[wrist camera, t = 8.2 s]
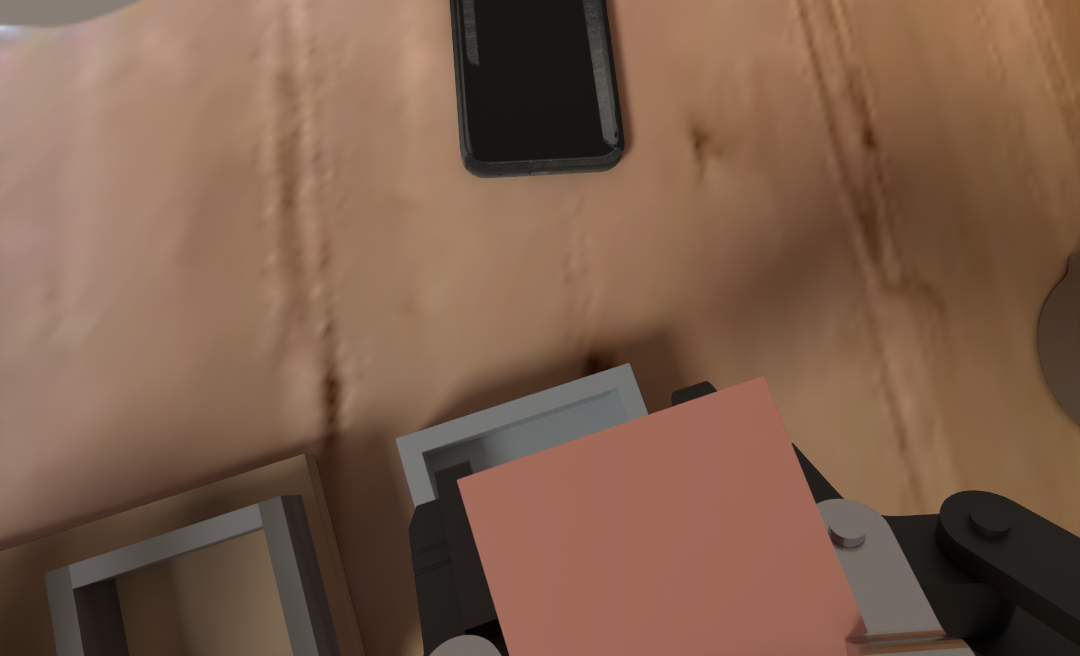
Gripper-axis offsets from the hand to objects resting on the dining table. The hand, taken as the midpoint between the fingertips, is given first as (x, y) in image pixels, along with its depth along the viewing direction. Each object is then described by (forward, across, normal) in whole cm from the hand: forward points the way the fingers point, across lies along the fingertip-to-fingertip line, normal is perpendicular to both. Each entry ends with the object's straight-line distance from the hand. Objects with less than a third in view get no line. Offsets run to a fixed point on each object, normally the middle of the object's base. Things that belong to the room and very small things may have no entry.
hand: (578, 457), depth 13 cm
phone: (+25, -6, -3) cm, 26 cm away
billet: (+2, 0, +4) cm, 4 cm away
